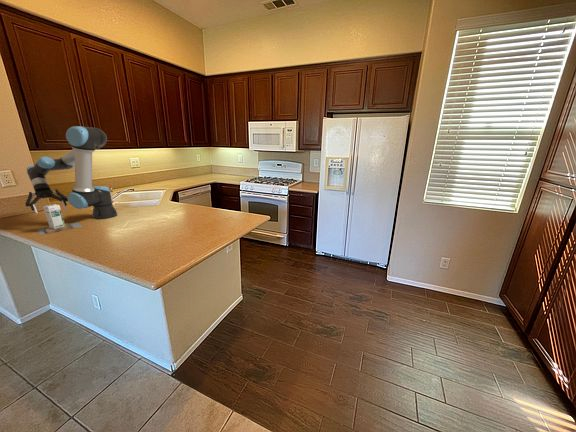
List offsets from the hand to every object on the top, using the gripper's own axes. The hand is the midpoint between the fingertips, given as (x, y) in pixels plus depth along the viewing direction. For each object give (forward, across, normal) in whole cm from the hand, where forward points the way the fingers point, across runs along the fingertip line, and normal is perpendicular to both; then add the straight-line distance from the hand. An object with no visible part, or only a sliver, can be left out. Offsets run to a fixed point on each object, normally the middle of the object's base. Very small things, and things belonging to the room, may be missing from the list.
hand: (51, 211), depth 155 cm
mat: (+13, -1, -2) cm, 13 cm away
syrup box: (+12, 0, 0) cm, 13 cm away
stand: (+13, 0, 0) cm, 13 cm away
